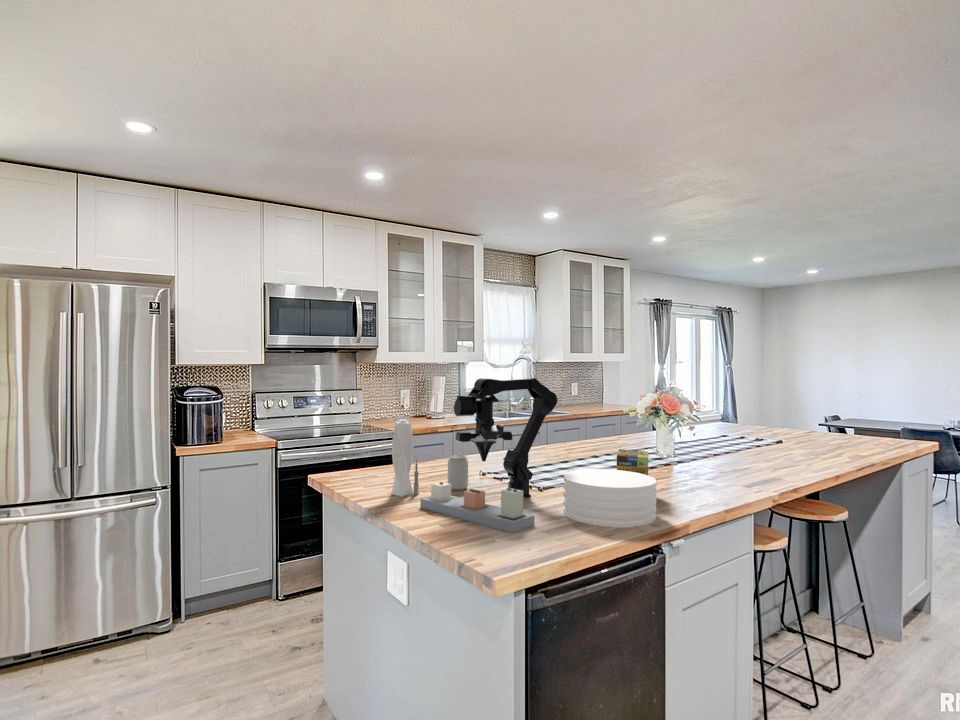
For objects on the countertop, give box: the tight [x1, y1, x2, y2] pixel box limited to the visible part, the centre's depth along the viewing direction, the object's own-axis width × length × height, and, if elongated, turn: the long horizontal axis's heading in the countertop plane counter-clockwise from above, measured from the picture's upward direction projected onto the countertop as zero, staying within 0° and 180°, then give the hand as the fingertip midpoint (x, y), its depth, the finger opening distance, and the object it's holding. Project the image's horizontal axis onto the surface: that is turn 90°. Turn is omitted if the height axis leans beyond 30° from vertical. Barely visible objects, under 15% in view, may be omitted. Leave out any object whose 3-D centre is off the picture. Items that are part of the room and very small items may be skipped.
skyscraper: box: [391, 415, 420, 499], centre depth 190 cm, size 8×8×28 cm
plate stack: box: [562, 468, 658, 528], centre depth 169 cm, size 28×28×12 cm
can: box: [447, 454, 469, 491], centre depth 200 cm, size 8×8×12 cm
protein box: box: [615, 448, 649, 476], centre depth 191 cm, size 10×15×16 cm
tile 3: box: [463, 488, 486, 511], centre depth 164 cm, size 4×4×8 cm
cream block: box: [430, 481, 452, 502], centre depth 174 cm, size 4×4×8 cm
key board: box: [419, 495, 535, 534], centre depth 164 cm, size 38×10×3 cm, turn 48°
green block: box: [500, 487, 524, 518], centre depth 155 cm, size 4×4×8 cm
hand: (483, 461), depth 185 cm, fingers closed
